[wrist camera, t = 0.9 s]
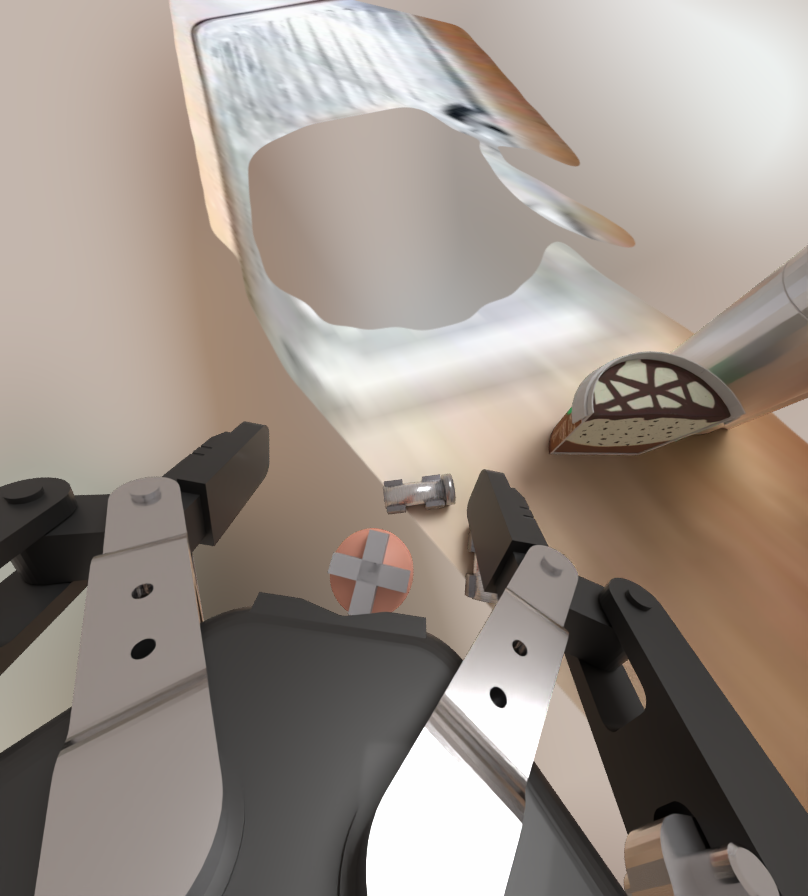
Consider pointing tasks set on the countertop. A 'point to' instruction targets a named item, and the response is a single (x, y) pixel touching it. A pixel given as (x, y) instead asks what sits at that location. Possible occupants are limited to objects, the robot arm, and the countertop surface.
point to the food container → (643, 406)
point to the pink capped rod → (371, 572)
